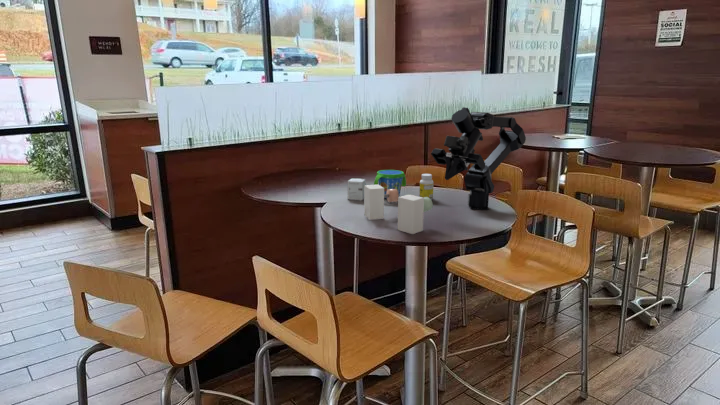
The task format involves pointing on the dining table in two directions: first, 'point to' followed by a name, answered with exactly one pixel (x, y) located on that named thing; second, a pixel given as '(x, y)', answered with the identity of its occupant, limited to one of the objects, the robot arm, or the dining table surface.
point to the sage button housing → (410, 213)
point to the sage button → (427, 204)
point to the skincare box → (356, 189)
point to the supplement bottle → (426, 186)
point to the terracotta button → (392, 195)
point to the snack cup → (390, 180)
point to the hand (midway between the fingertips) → (446, 179)
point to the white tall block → (374, 202)
